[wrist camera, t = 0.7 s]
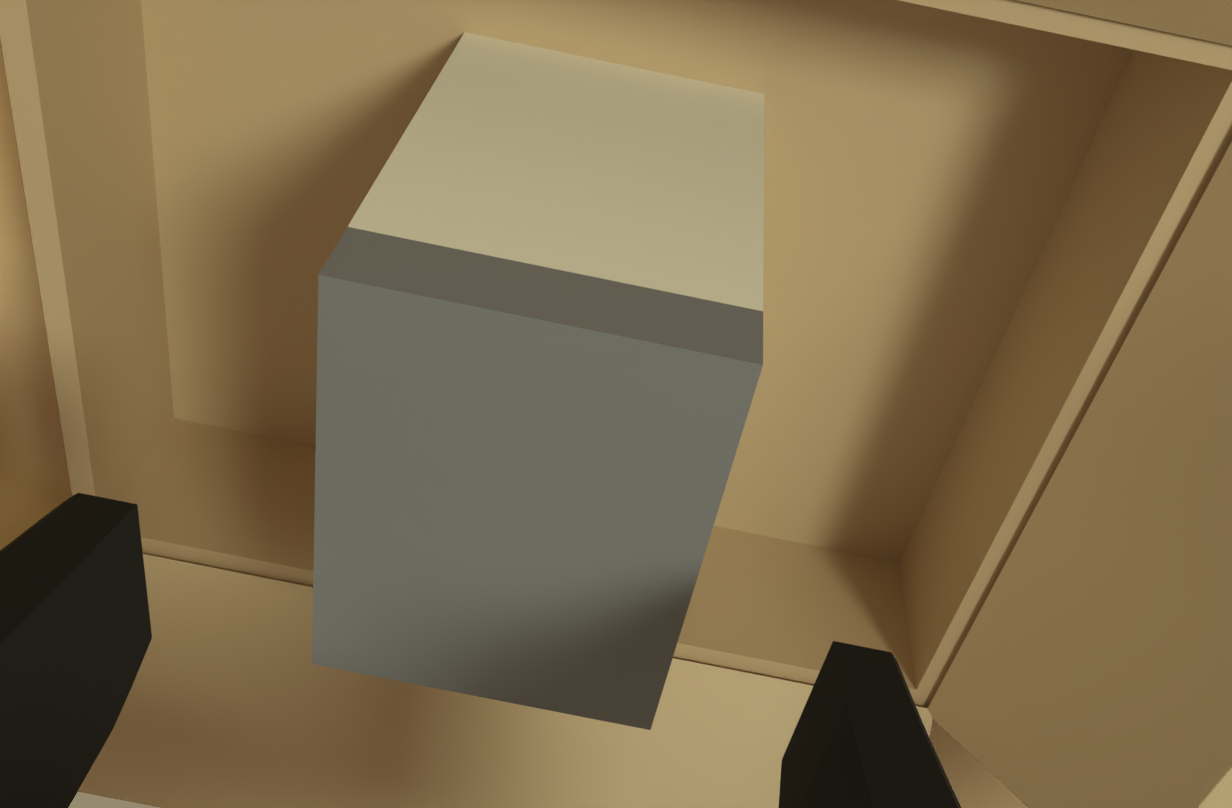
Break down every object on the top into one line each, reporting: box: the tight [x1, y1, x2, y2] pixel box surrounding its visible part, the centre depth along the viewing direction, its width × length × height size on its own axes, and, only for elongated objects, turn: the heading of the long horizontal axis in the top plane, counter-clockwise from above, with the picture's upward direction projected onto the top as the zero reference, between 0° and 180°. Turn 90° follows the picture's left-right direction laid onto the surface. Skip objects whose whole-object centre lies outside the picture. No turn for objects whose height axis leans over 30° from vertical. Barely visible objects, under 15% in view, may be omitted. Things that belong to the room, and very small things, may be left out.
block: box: [312, 32, 764, 730], centre depth 16 cm, size 4×6×7 cm
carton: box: [0, 0, 1232, 808], centre depth 17 cm, size 18×18×6 cm
